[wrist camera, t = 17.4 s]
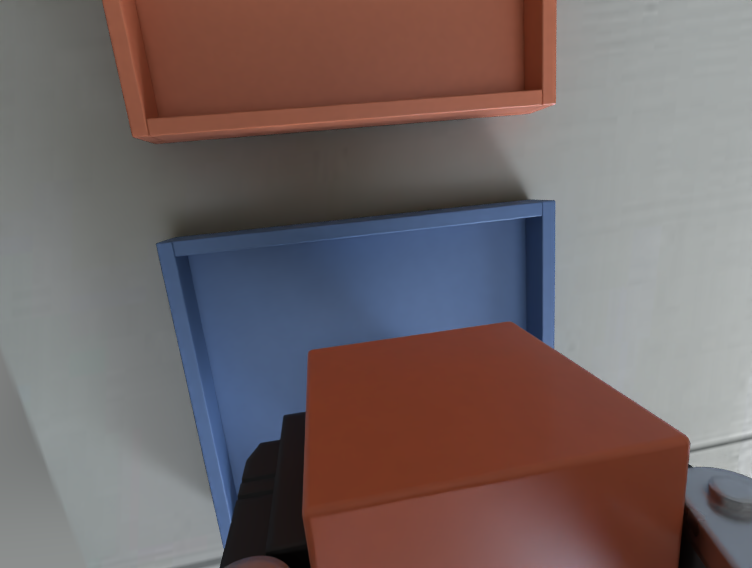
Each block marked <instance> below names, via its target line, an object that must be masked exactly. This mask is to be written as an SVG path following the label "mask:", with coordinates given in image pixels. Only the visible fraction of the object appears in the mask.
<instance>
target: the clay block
mask: <svg viewBox="0 0 752 568" xmlns="http://www.w3.org/2000/svg"><path fill="white" fill-rule="evenodd" d="M689 453H690V441H689V439H688V437H687V436H686V435H685V434H683V433H682V432H680V431H678V430H677V429H675V428H674V427H672V426H671V425H669V424H668V423H666V422H665V421H663V420H662V419H660V418H659V417H657V416H656V415H654V414H652V413H651V412H649V411H648V410H646V409H645V408H643V407H642V406H640V405H639V404H637V403H636V402H634V401H633V400H631V399H629V398H628V397H626V396H625V395H623V394H622V393H620V392H619V391H617V390H616V389H614V388H613V387H611V386H610V385H608V384H607V383H605V382H603V381H602V380H600V379H599V378H597V377H596V376H594V375H593V374H591V373H590V372H588V371H587V370H585V369H584V368H582V367H580V366H579V365H577V364H576V363H574V362H573V361H571V360H570V359H568V358H567V357H565V356H564V355H562V354H561V353H559V352H558V351H556V350H554V349H553V348H551V347H550V346H548V345H547V344H545V343H544V342H542V341H541V340H539V339H538V338H536V337H535V336H533V335H531V334H530V333H528V332H527V331H525V330H524V329H522V328H521V327H519V326H518V325H516V324H515V323H513V322H510V321H509V322H502V323H495V324H488V325H481V326H474V327H467V328H460V329H453V330H446V331H439V332H432V333H425V334H418V335H411V336H404V337H397V338H390V339H383V340H376V341H370V342H363V343H356V344H349V345H342V346H335V347H328V348H321V349H314V350H310V351H309V352H308V361H307V389H306V417H305V445H304V473H303V501H302V517H303V523H304V529H305V536H306V542H307V548H308V554H309V560H310V566H311V568H678V566H679V556H680V545H681V535H682V525H683V515H684V504H685V494H686V484H687V474H688V463H689Z"/></svg>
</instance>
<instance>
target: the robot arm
mask: <svg viewBox="0 0 752 568" xmlns="http://www.w3.org/2000/svg"><path fill="white" fill-rule="evenodd" d="M305 417H306V412H300V413H294V414H287V415H284V416H283V422H282V430H281V437H280V440H275V441H269V442H263V443H260V444H259V445H258V447H257V448H256V449H255V450H254V452H253V453H252V454H251V455H250V456H249V458H248V459H247V460H246V464H245V468H244V472H243V476H242V483H241V484H240V488H239V492H238V500H236V504H235V508H234V512H233V516H232V520H231V524H230V528H229V532H228V536H227V540H226V544H225V548H224V552H223V556H222V560H221V564H220V568H311V566H310V560H309V554H308V548H307V542H306V536H305V529H304V523H303V517H302V501H303V473H304V445H305ZM678 568H752V478H750V477H747V476H744V475H742V474H739V473H736V472H732V471H728V470H724V469H719V468H713V467H692V466H691V465H689V464H688V474H687V484H686V494H685V504H684V515H683V525H682V535H681V545H680V556H679V566H678Z"/></svg>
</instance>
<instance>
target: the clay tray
mask: <svg viewBox="0 0 752 568" xmlns="http://www.w3.org/2000/svg"><path fill="white" fill-rule="evenodd" d="M102 2H103V7H104V11H105V16H106V20H107V25H108V29H109V34H110V38H111V43H112V47H113V52H114V56H115V61H116V65H117V70H118V74H119V79H120V83H121V88H122V92H123V97H124V101H125V106H126V110H127V115H128V119H129V124H130V128H131V133H132V136H133V137H134V138H137V139H140V140H144V141H147V142H151V143H154V144H162V143H174V142H186V141H199V140H211V139H223V138H236V137H248V136H260V135H273V134H285V133H297V132H310V131H322V130H334V129H347V128H359V127H371V126H384V125H396V124H408V123H421V122H433V121H445V120H458V119H470V118H482V117H495V116H507V115H519V114H530V113H533V112H535V111H538V110H541V109H544V108H546V107H549V106H552V105H554V104H555V103H556V0H102Z"/></svg>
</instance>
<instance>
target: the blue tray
mask: <svg viewBox="0 0 752 568" xmlns="http://www.w3.org/2000/svg"><path fill="white" fill-rule="evenodd" d="M156 246H157V251H158V255H159V260H160V264H161V269H162V273H163V278H164V282H165V287H166V291H167V296H168V300H169V305H170V309H171V314H172V318H173V323H174V327H175V332H176V336H177V341H178V345H179V350H180V354H181V359H182V363H183V368H184V372H185V377H186V381H187V386H188V390H189V395H190V399H191V404H192V408H193V413H194V417H195V422H196V426H197V431H198V435H199V440H200V444H201V449H202V453H203V458H204V462H205V467H206V471H207V476H208V480H209V485H210V489H211V494H212V498H213V503H214V507H215V512H216V516H217V521H218V525H219V530H220V534H221V539H222V543H223V548H225V544H226V540H227V536H228V532H229V528H230V524H231V520H232V516H233V512H234V508H235V504H236V500H238V492H239V488H240V484H241V483H242V476H243V472H244V468H245V464H246V460H247V459H248V458H249V456H250V455H251V454H252V453H253V452H254V450H255V449H256V448H257V447H258V445H259V444H260V443H263V442H269V441H275V440H280V437H281V430H282V422H283V416H284V415H287V414H294V413H300V412H306V389H307V361H308V352H309V351H310V350H314V349H321V348H328V347H335V346H342V345H349V344H356V343H363V342H370V341H376V340H383V339H390V338H397V337H404V336H411V335H418V334H425V333H432V332H439V331H446V330H453V329H460V328H467V327H474V326H481V325H488V324H495V323H502V322H509V321H510V322H513V323H515V324H516V325H518V326H519V327H521V328H522V329H524V330H525V331H527V332H528V333H530V334H531V335H533V336H535V337H536V338H538V339H539V340H541V341H542V342H544V343H545V344H547V345H548V346H550V347H551V348H553V349H554V307H555V201H554V200H521V201H512V202H502V203H493V204H484V205H474V206H465V207H455V208H446V209H437V210H427V211H418V212H408V213H399V214H390V215H380V216H371V217H361V218H352V219H343V220H333V221H324V222H314V223H305V224H296V225H286V226H277V227H267V228H258V229H249V230H239V231H230V232H221V233H211V234H202V235H192V236H183V237H175V238H172V239H168V240H165V241H162V242H159V243H156Z"/></svg>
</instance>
